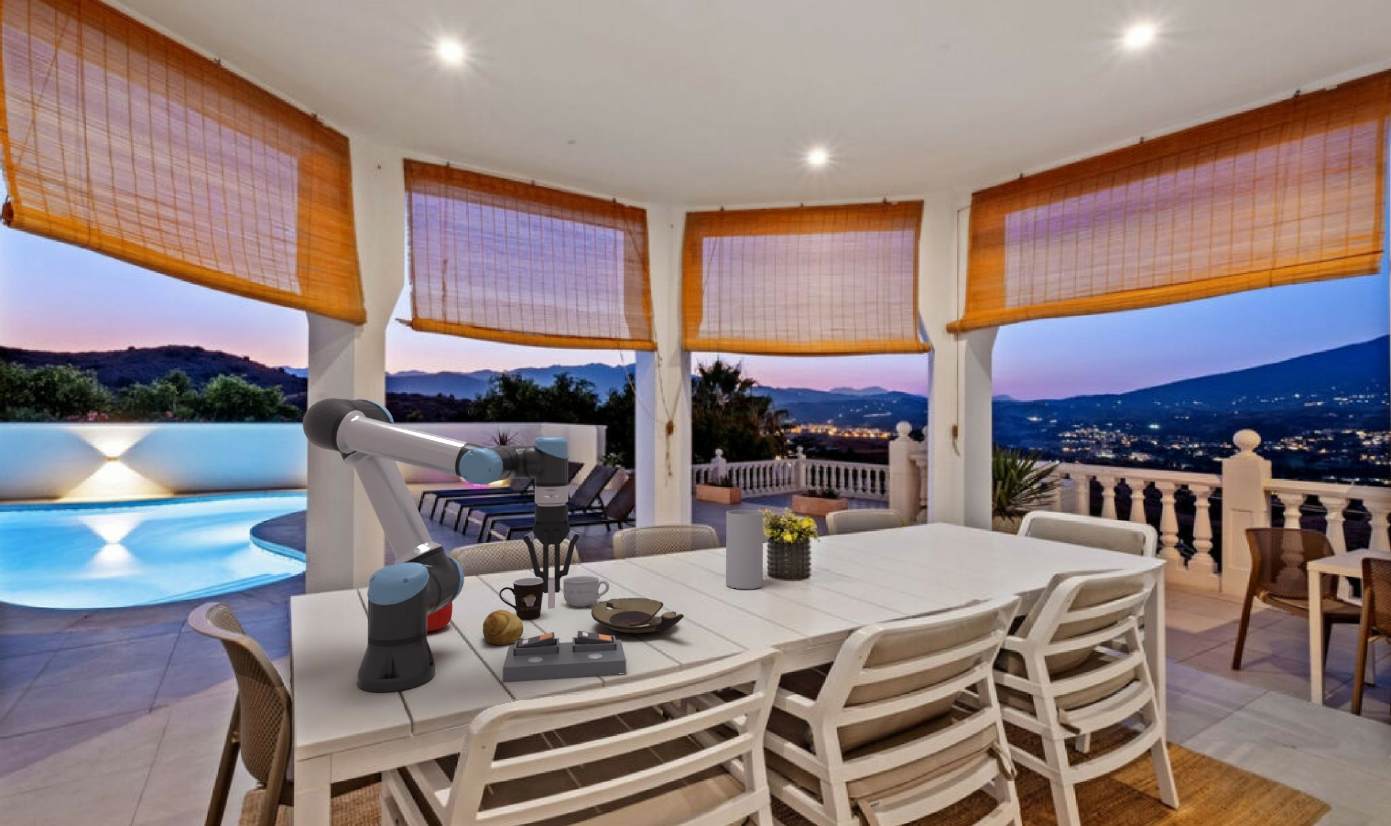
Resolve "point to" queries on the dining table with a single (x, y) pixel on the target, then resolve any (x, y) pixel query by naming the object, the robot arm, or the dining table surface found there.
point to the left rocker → (537, 641)
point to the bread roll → (502, 627)
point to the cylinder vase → (744, 549)
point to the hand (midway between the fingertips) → (551, 606)
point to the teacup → (583, 590)
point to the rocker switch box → (563, 660)
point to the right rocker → (593, 638)
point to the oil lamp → (634, 615)
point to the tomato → (439, 618)
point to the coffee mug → (527, 597)
